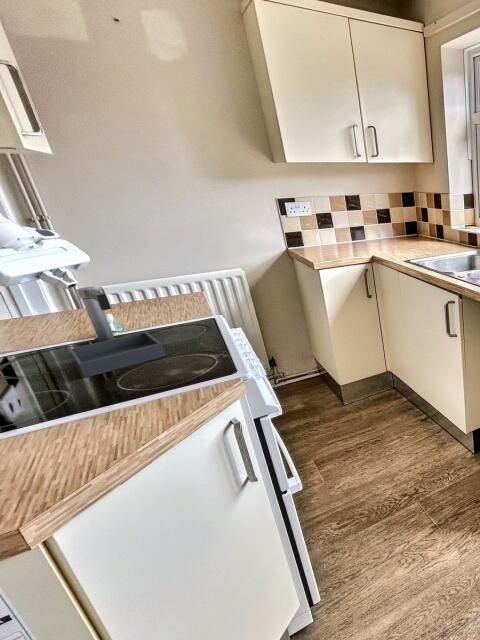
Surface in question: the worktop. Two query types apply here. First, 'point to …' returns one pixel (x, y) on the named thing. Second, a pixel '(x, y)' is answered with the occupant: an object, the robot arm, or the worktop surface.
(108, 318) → the pacifier
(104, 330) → the faucet column
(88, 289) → the spout
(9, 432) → the worktop surface
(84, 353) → the sink
